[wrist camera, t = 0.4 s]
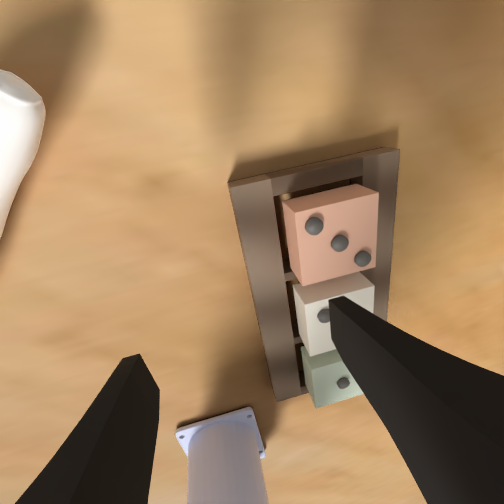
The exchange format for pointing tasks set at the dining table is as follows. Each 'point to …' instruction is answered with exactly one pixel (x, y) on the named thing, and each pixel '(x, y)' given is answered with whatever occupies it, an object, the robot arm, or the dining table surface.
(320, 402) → the tile one
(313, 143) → the dining table surface
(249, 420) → the robot arm
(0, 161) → the banana
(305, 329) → the tile two
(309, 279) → the tile three
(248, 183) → the dice tray
